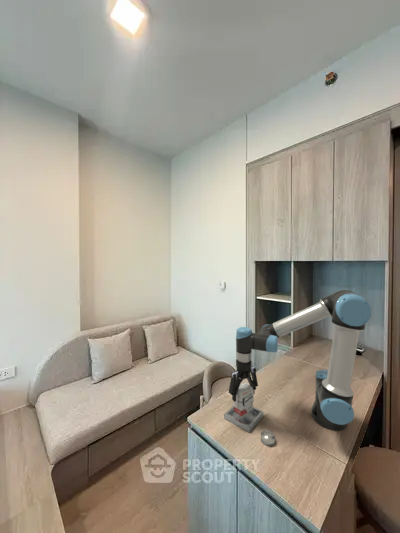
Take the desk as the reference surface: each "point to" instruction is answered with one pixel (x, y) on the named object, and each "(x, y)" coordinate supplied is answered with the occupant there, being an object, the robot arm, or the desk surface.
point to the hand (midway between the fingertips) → (243, 403)
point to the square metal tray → (244, 418)
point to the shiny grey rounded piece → (267, 438)
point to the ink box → (244, 399)
